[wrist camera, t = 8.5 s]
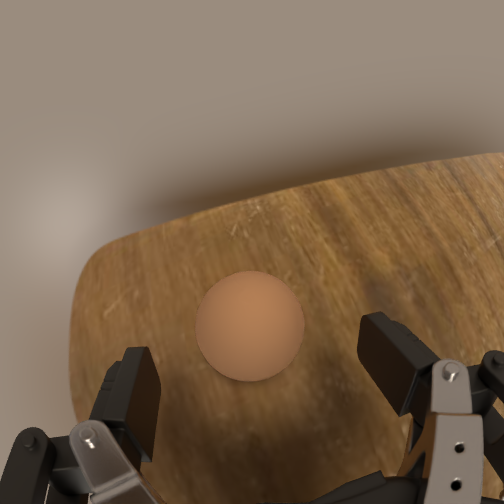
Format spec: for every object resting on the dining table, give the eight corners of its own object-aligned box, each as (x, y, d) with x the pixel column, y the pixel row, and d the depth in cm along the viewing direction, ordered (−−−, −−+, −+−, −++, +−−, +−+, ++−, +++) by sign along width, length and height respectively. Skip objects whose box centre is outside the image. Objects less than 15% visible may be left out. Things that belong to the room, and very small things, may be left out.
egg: (213, 389, 15) (191, 390, 8) (199, 309, 17) (172, 251, 10) (298, 372, 16) (342, 357, 9) (278, 294, 18) (303, 229, 11)
